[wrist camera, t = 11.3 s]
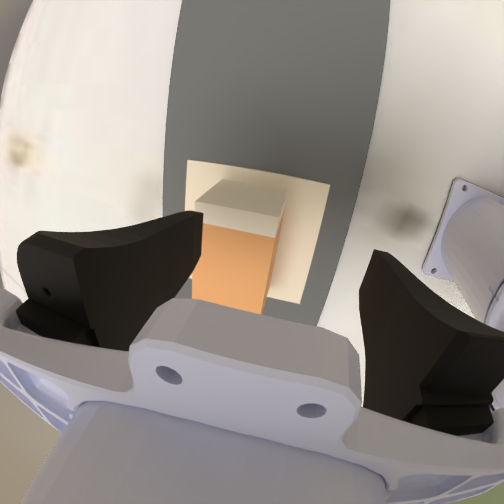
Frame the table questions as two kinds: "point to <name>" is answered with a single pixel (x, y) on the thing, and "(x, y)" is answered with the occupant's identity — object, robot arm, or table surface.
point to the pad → (293, 224)
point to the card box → (238, 244)
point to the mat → (278, 107)
